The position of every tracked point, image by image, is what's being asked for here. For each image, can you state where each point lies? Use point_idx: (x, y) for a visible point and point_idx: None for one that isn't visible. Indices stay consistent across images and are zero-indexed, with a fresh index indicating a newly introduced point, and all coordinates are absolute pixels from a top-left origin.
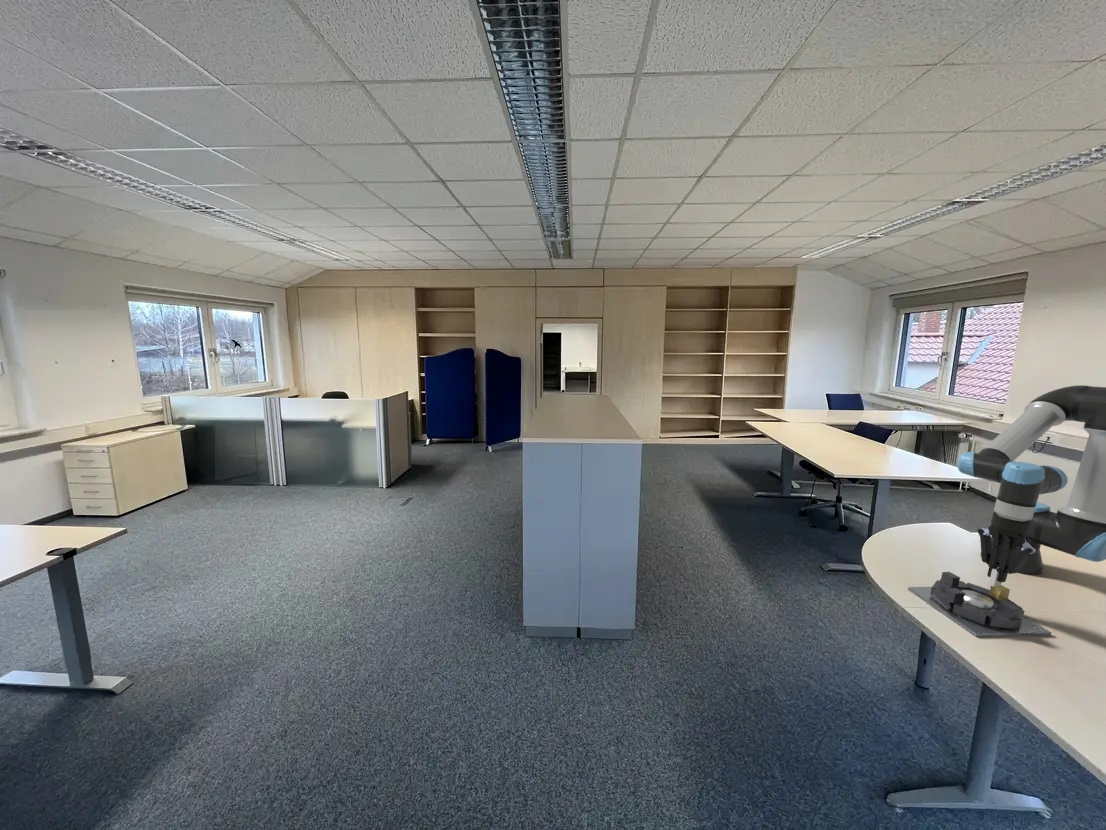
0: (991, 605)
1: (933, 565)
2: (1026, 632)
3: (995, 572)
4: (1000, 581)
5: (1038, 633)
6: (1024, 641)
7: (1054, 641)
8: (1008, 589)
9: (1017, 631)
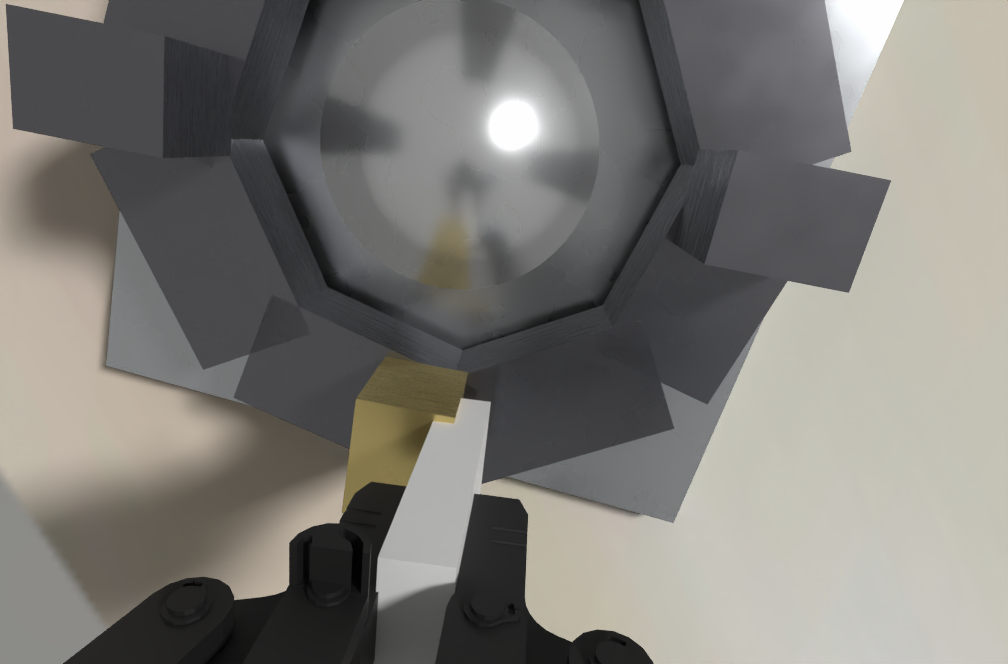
0: (324, 150)
1: (995, 619)
2: None
3: (410, 536)
4: (372, 487)
5: (118, 266)
6: None
7: (82, 311)
8: (347, 500)
9: None
